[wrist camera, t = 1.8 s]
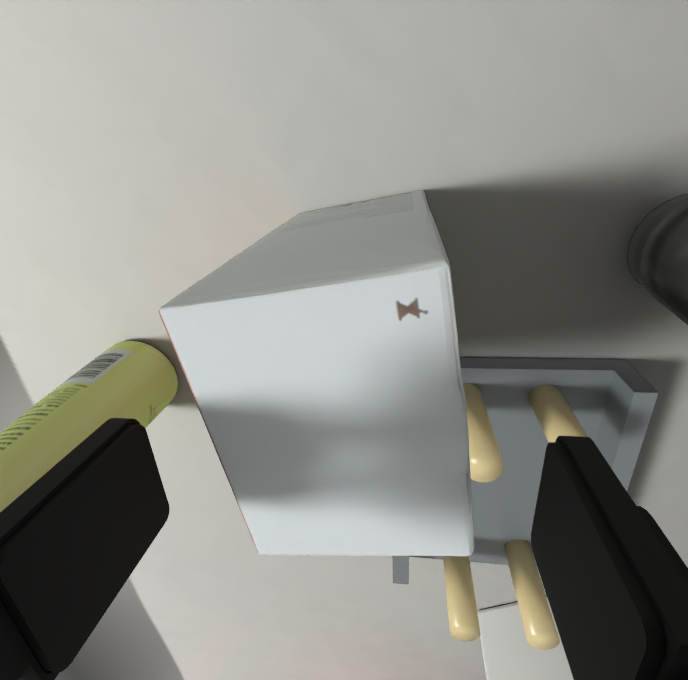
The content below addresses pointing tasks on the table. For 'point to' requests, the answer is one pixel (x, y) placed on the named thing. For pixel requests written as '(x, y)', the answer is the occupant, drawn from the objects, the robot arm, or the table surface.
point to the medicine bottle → (517, 648)
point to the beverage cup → (663, 255)
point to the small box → (336, 383)
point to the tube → (84, 412)
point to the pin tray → (532, 465)
